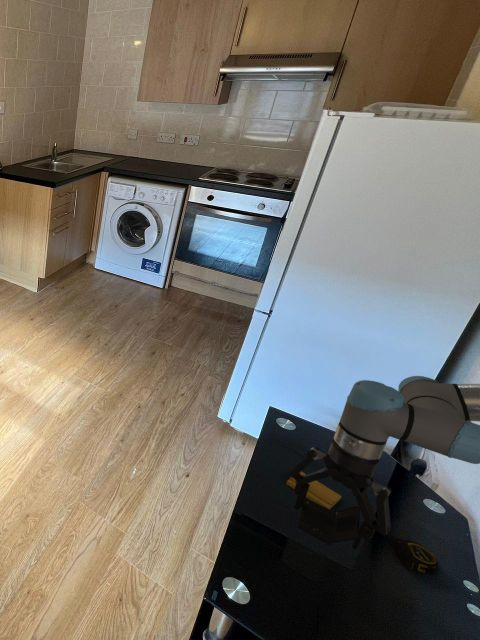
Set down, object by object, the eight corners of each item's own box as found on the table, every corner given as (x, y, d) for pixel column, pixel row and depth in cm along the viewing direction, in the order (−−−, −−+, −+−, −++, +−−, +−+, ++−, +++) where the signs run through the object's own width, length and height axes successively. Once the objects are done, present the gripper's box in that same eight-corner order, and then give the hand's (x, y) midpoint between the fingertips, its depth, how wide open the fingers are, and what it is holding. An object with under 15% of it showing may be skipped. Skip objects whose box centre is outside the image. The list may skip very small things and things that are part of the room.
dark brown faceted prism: (295, 490, 101) (336, 481, 94) (319, 514, 100) (363, 507, 93) (294, 529, 93) (340, 522, 86) (321, 556, 91) (369, 551, 85)
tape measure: (386, 544, 102) (391, 533, 100) (422, 554, 99) (427, 543, 98) (403, 571, 95) (409, 559, 94) (441, 582, 93) (447, 571, 92)
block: (340, 499, 114) (342, 494, 113) (327, 511, 110) (329, 506, 110) (299, 473, 122) (301, 468, 122) (286, 483, 119) (287, 478, 118)
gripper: (286, 421, 95) (263, 494, 101) (425, 496, 76) (385, 579, 82) (301, 411, 98) (278, 482, 105) (438, 480, 79) (399, 561, 86)
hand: (325, 525), depth 94 cm, fingers closed on dark brown faceted prism, 10 cm apart
